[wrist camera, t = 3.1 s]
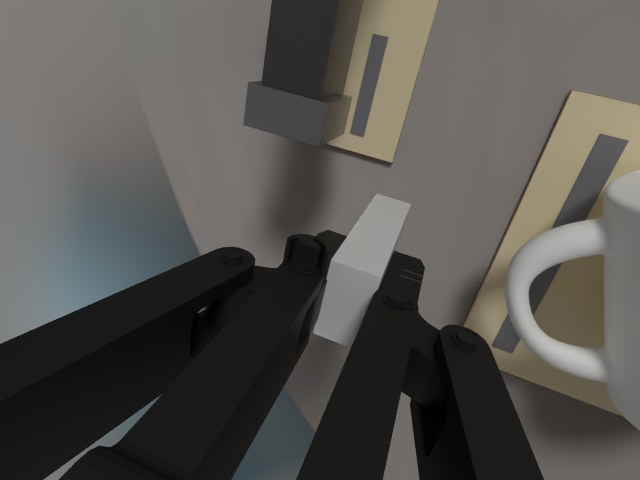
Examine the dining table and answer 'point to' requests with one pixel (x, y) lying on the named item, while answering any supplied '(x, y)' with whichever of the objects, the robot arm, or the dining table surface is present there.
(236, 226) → the dining table surface
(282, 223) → the dining table surface
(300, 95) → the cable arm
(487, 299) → the label card
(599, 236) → the mug
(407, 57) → the label card
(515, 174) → the dining table surface
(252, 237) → the dining table surface
